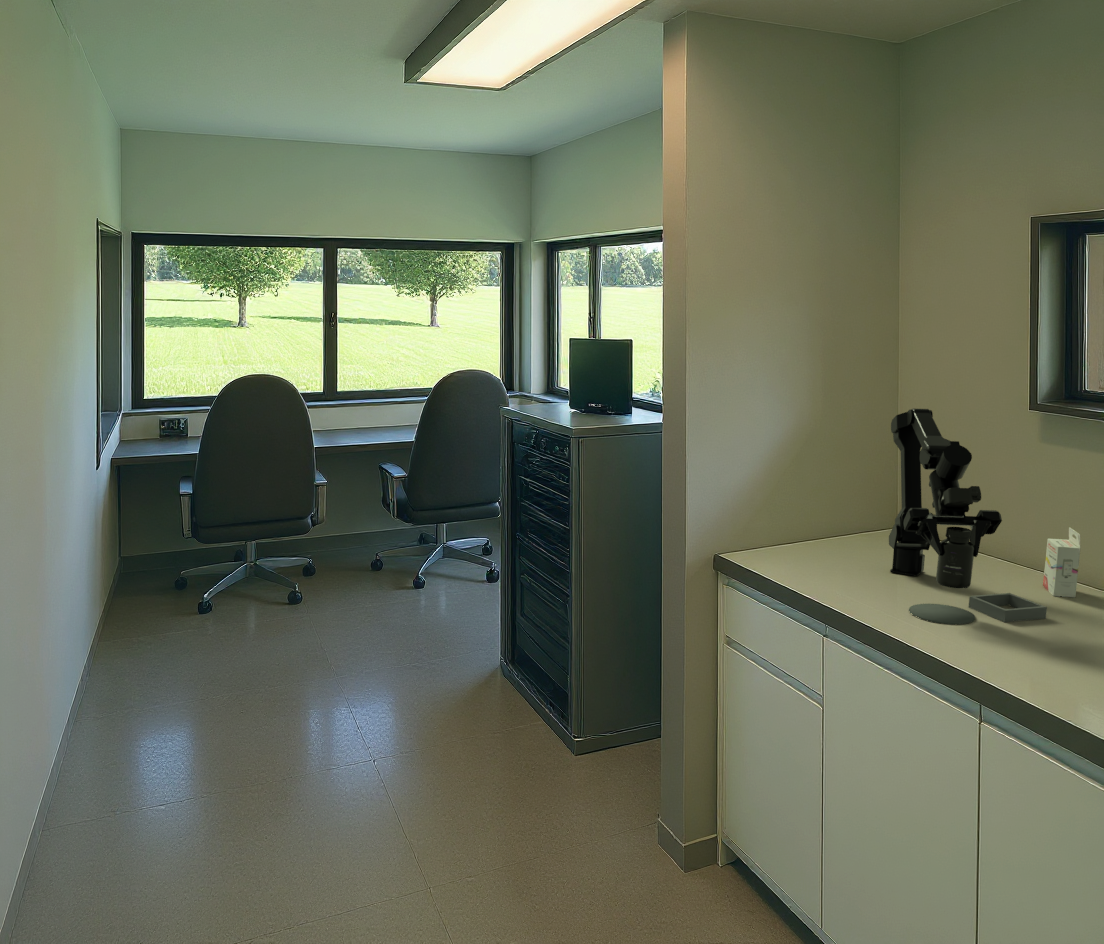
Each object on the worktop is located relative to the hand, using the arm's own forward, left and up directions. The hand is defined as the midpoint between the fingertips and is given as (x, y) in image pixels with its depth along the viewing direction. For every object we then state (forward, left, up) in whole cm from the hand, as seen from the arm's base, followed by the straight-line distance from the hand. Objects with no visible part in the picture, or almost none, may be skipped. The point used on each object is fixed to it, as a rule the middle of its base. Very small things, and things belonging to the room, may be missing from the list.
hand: (958, 555), depth 197 cm
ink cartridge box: (+16, +35, -13) cm, 41 cm away
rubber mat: (-2, 0, -13) cm, 13 cm away
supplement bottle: (-1, +1, -7) cm, 7 cm away
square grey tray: (+9, +10, -13) cm, 19 cm away
